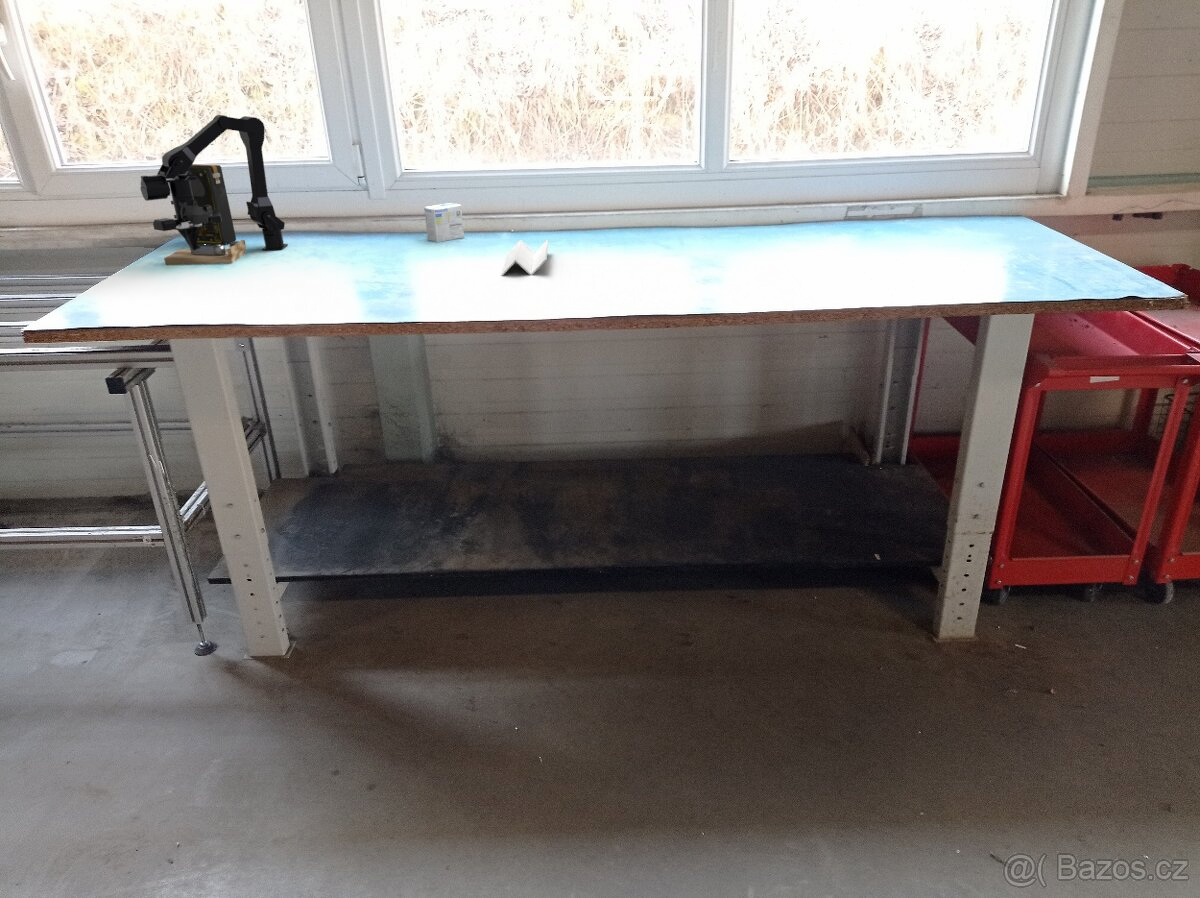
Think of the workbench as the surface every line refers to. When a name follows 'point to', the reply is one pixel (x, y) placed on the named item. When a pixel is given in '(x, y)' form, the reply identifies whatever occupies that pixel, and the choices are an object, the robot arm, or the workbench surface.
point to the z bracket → (526, 257)
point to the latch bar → (209, 249)
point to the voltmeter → (212, 203)
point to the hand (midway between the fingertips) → (194, 250)
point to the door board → (187, 258)
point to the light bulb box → (444, 222)
